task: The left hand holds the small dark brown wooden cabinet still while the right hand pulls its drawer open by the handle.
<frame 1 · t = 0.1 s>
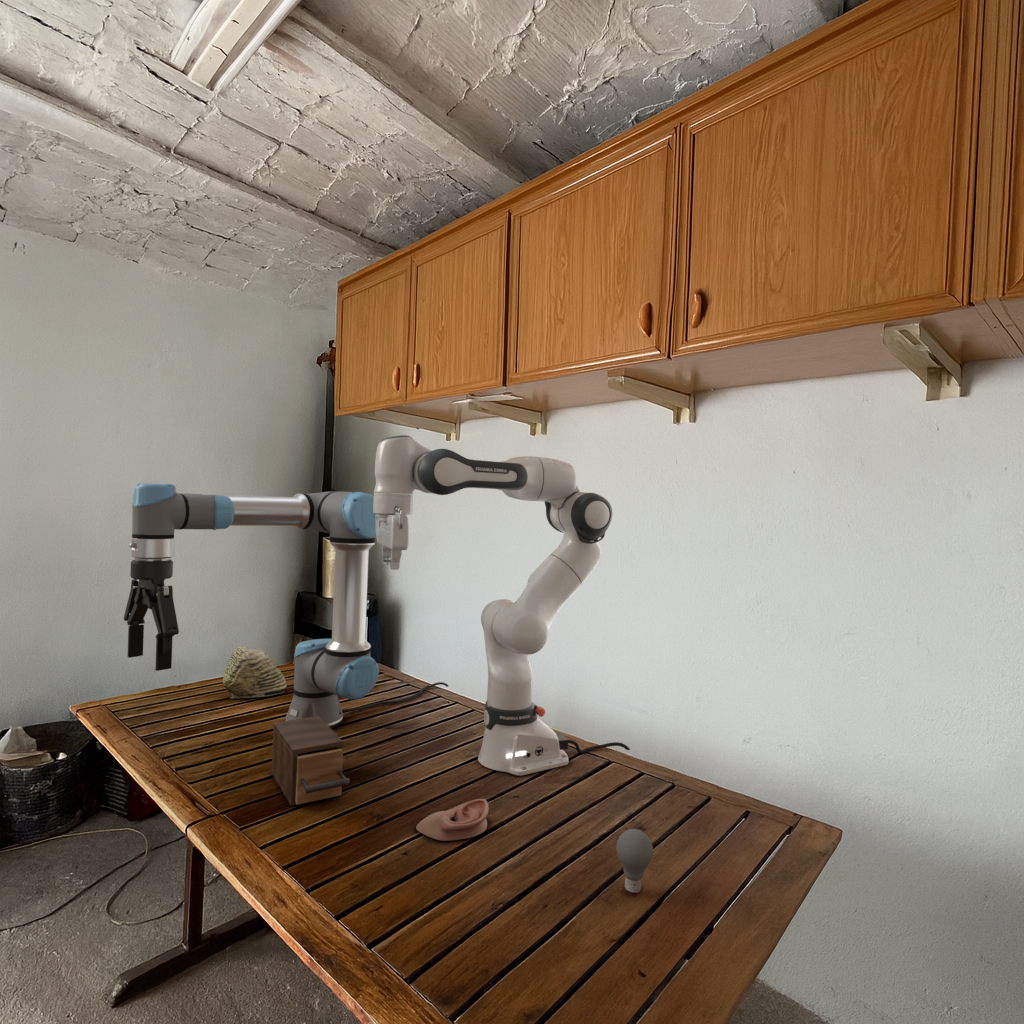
left hand: (148, 662, 129), 28 cm above the table, tool pointing down, fingers open, 13 cm apart
right hand: (390, 566, 145), 48 cm above the table, tool pointing down, fingers open, 8 cm apart
fossil: (254, 694, 198), on the table
cabinet: (305, 783, 139), on the table
light bulb: (632, 891, 106), on the table
anatomical model: (452, 827, 124), on the table
drawer: (313, 767, 135), point 6 cm above the table, slide at 1.0 cm
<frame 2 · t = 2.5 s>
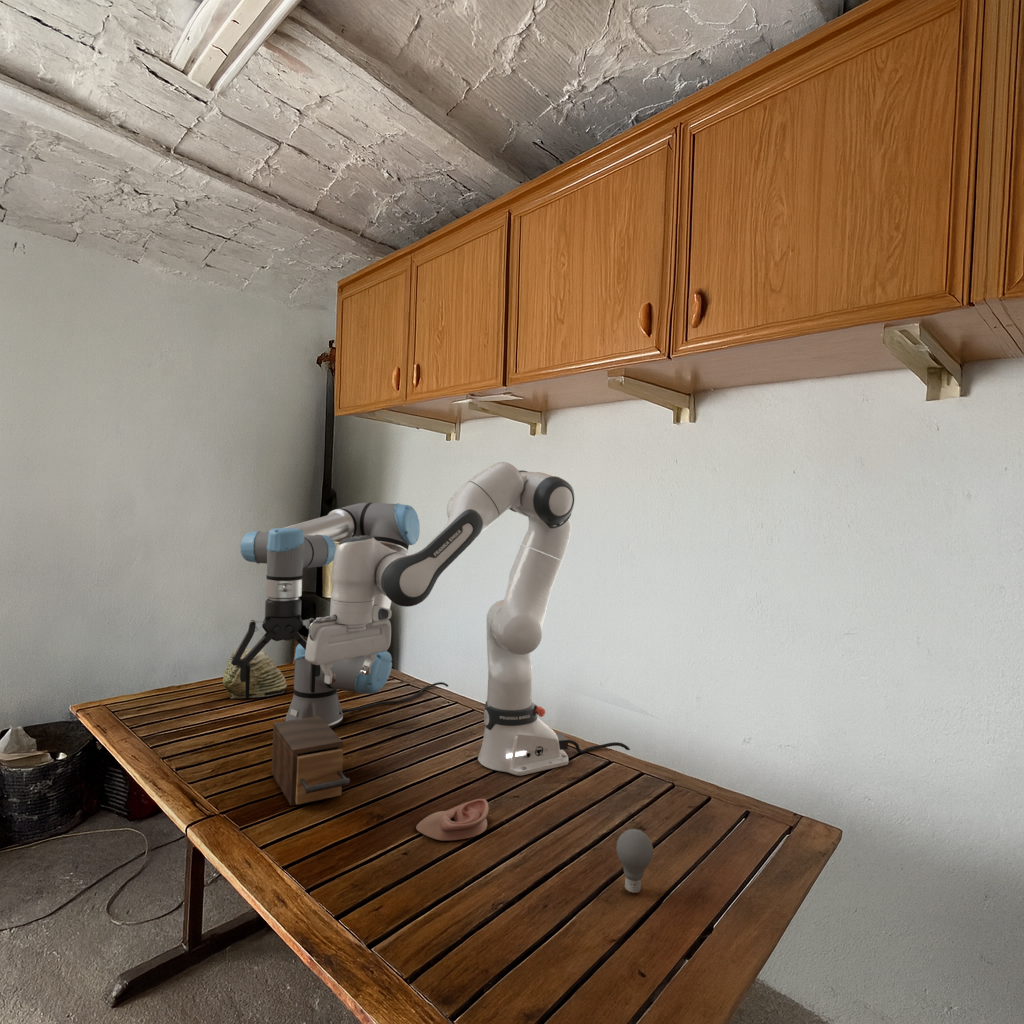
left hand: (280, 693, 140), 19 cm above the table, tool pointing down, fingers open, 13 cm apart
right hand: (348, 678, 133), 26 cm above the table, tool pointing down, fingers open, 8 cm apart
nothing on the table moved.
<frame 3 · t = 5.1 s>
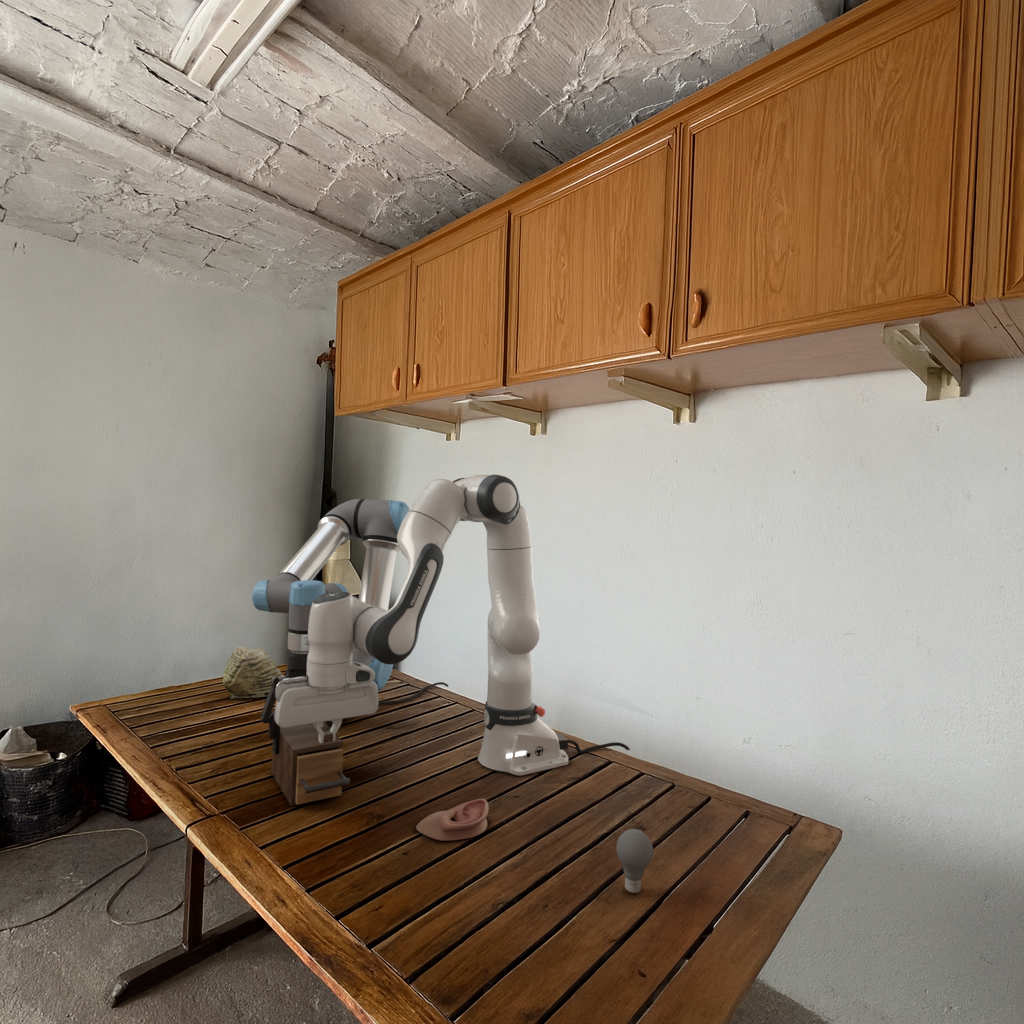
left hand: (301, 747, 143), 7 cm above the table, tool pointing down, fingers closed on cabinet, 10 cm apart
right hand: (326, 741, 128), 14 cm above the table, tool pointing down, fingers closed
cabinet: (305, 783, 139), on the table, touching left hand
everything else where it was.
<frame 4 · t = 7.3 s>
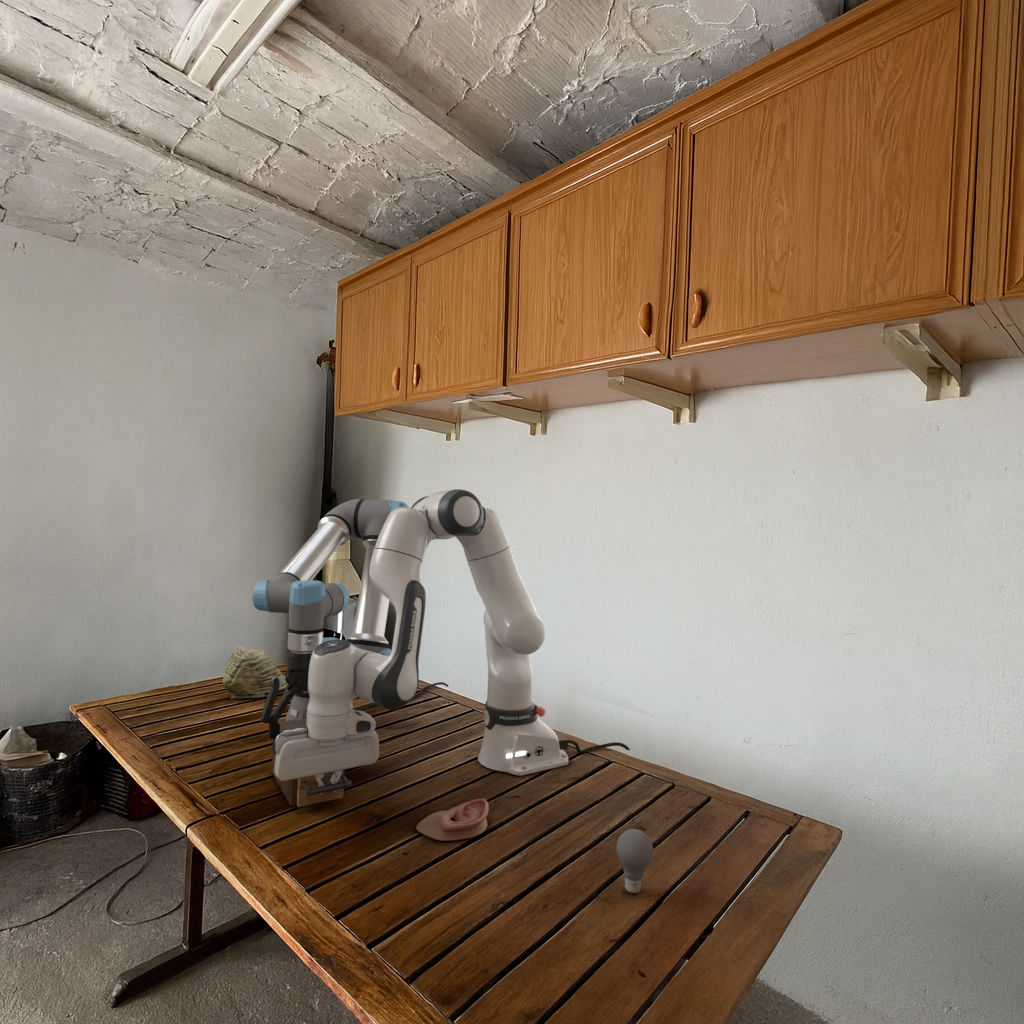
left hand: (301, 747, 143), 7 cm above the table, tool pointing down, fingers closed on cabinet, 10 cm apart
right hand: (327, 792, 126), 5 cm above the table, tool pointing down, fingers closed, pressing on drawer
cabinet: (305, 783, 139), on the table, touching left hand
drawer: (314, 769, 134), point 6 cm above the table, slide at 2.1 cm, touching right hand
everything else where it was.
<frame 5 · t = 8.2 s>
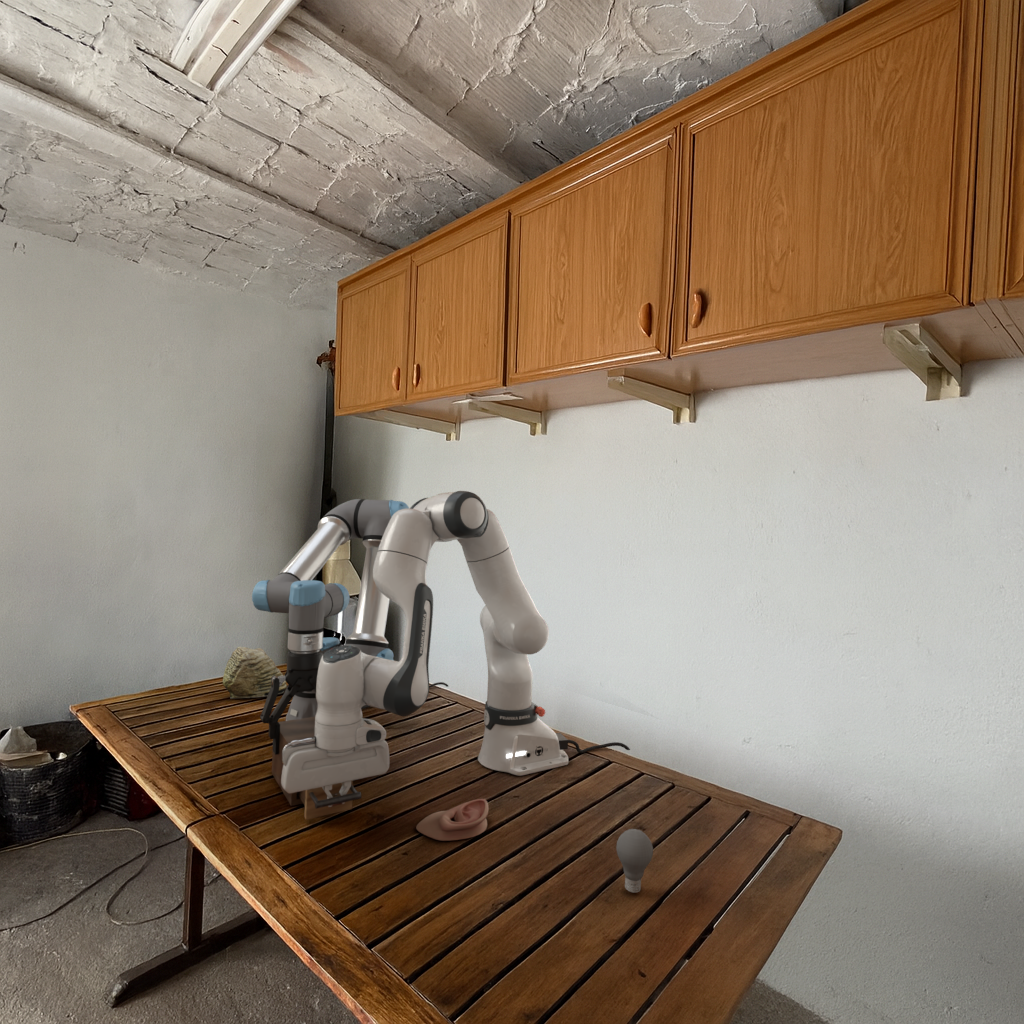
left hand: (301, 747, 143), 7 cm above the table, tool pointing down, fingers closed on cabinet, 10 cm apart
right hand: (335, 804, 122), 5 cm above the table, tool pointing down, fingers closed, pressing on drawer
cabinet: (305, 783, 139), on the table, touching left hand
drawer: (322, 779, 129), point 6 cm above the table, slide at 7.6 cm, touching right hand
everything else where it was.
when the left hand's fingers open (7 cm above the table, at t = 10.0 s): cabinet stays where it is, on the table.
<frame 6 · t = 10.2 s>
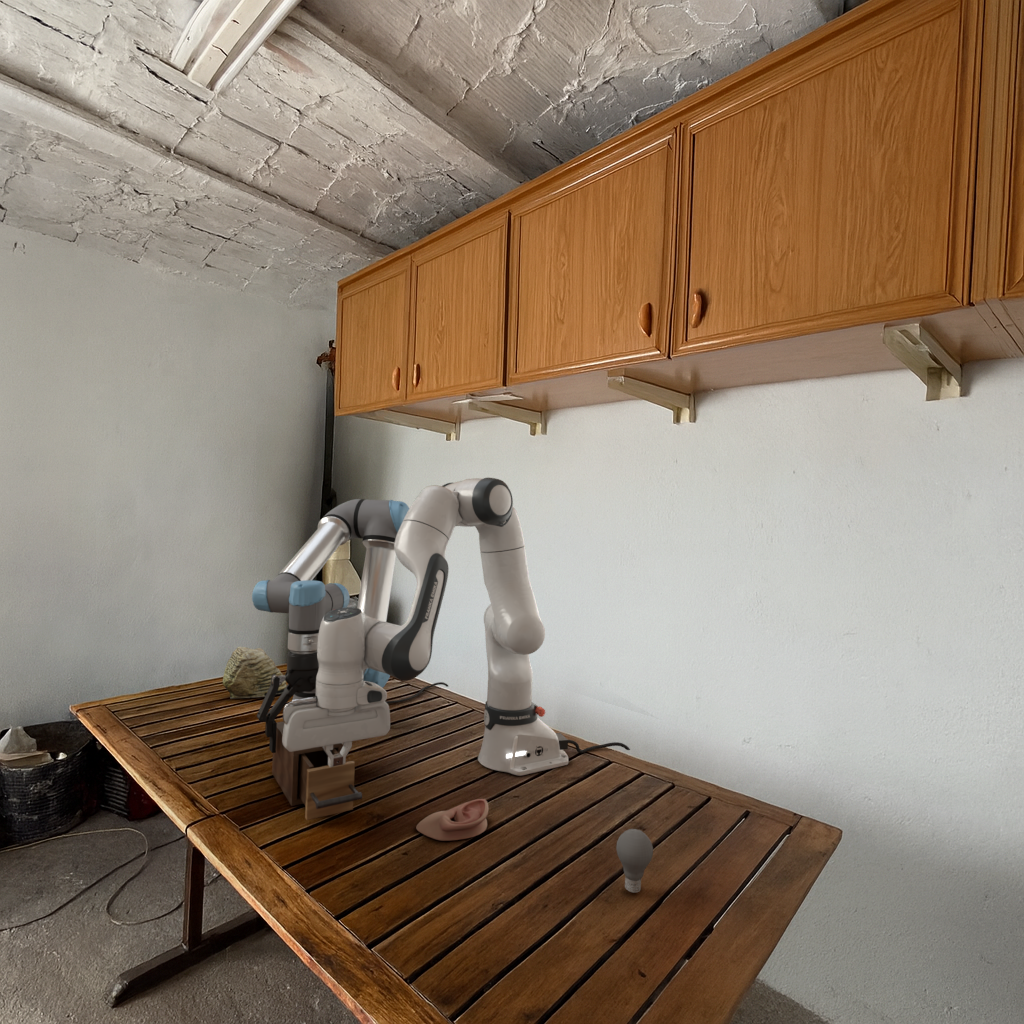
left hand: (301, 745, 143), 7 cm above the table, tool pointing down, fingers open, 12 cm apart
right hand: (336, 764, 122), 12 cm above the table, tool pointing down, fingers closed
cabinet: (305, 783, 139), on the table
drawer: (323, 780, 129), point 6 cm above the table, slide at 7.8 cm
everything else where it was.
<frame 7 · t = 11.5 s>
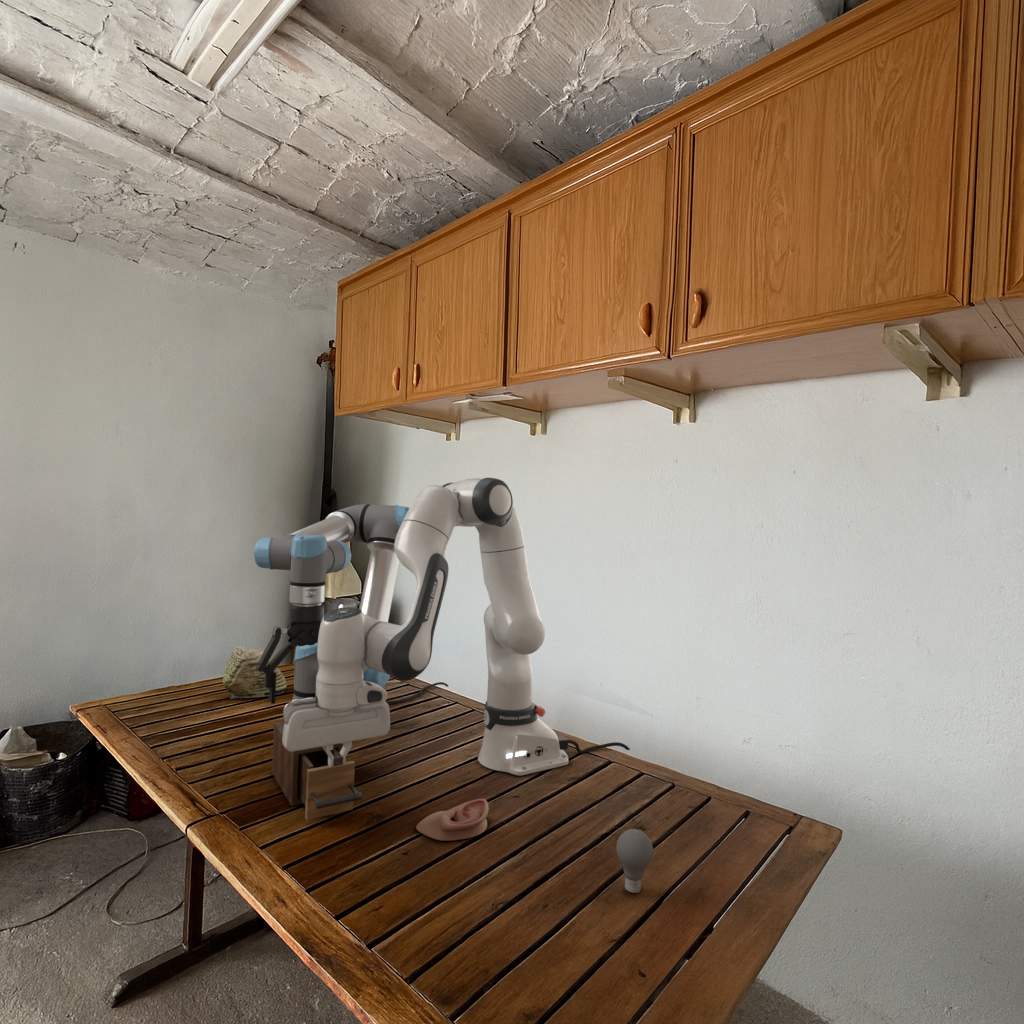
left hand: (303, 697, 142), 18 cm above the table, tool pointing down, fingers open, 13 cm apart
right hand: (336, 764, 122), 12 cm above the table, tool pointing down, fingers closed
nothing on the table moved.
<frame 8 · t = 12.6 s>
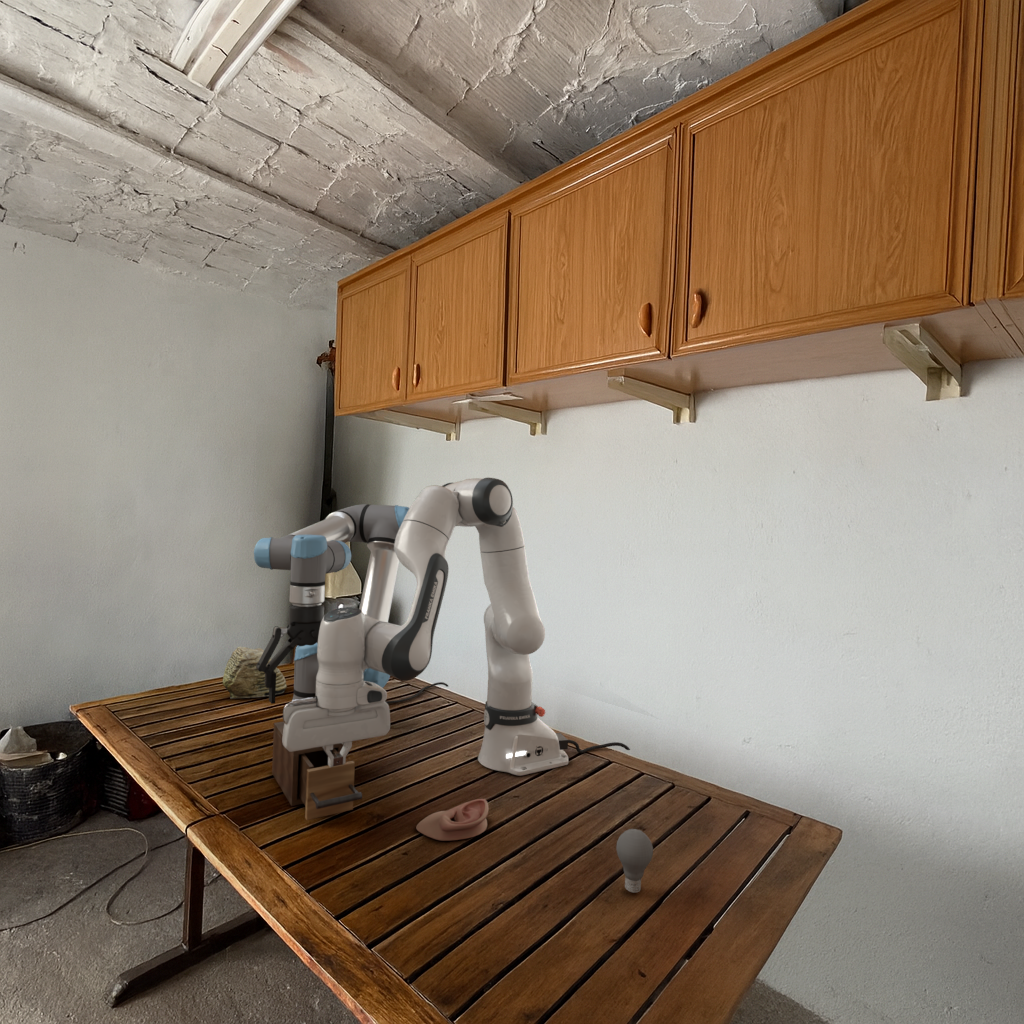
left hand: (303, 697, 142), 18 cm above the table, tool pointing down, fingers open, 13 cm apart
right hand: (336, 764, 122), 12 cm above the table, tool pointing down, fingers closed
nothing on the table moved.
at the end: drawer slide at 7.8 cm; cabinet tilted 0°; cabinet never tilted more than 1° during the clip; cabinet moved 0.2 cm from its start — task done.
